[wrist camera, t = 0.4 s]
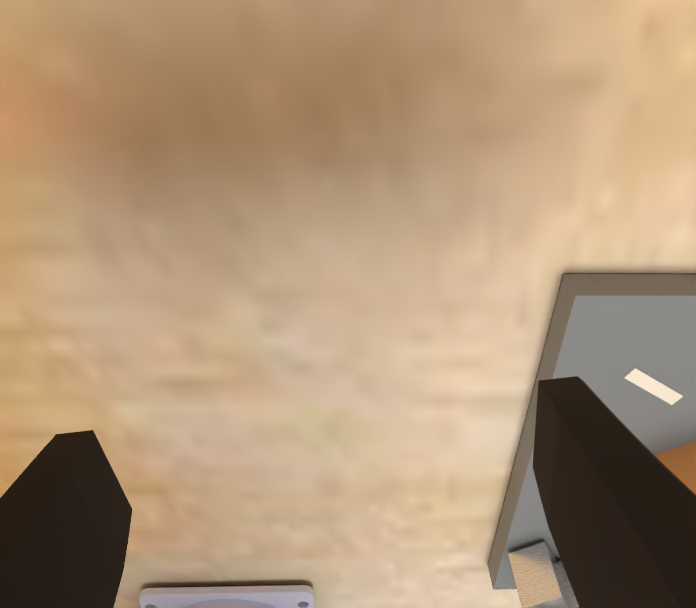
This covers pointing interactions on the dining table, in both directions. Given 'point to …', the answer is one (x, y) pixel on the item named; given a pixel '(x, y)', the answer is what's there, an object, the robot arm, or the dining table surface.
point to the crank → (541, 579)
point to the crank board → (609, 381)
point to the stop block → (682, 463)
